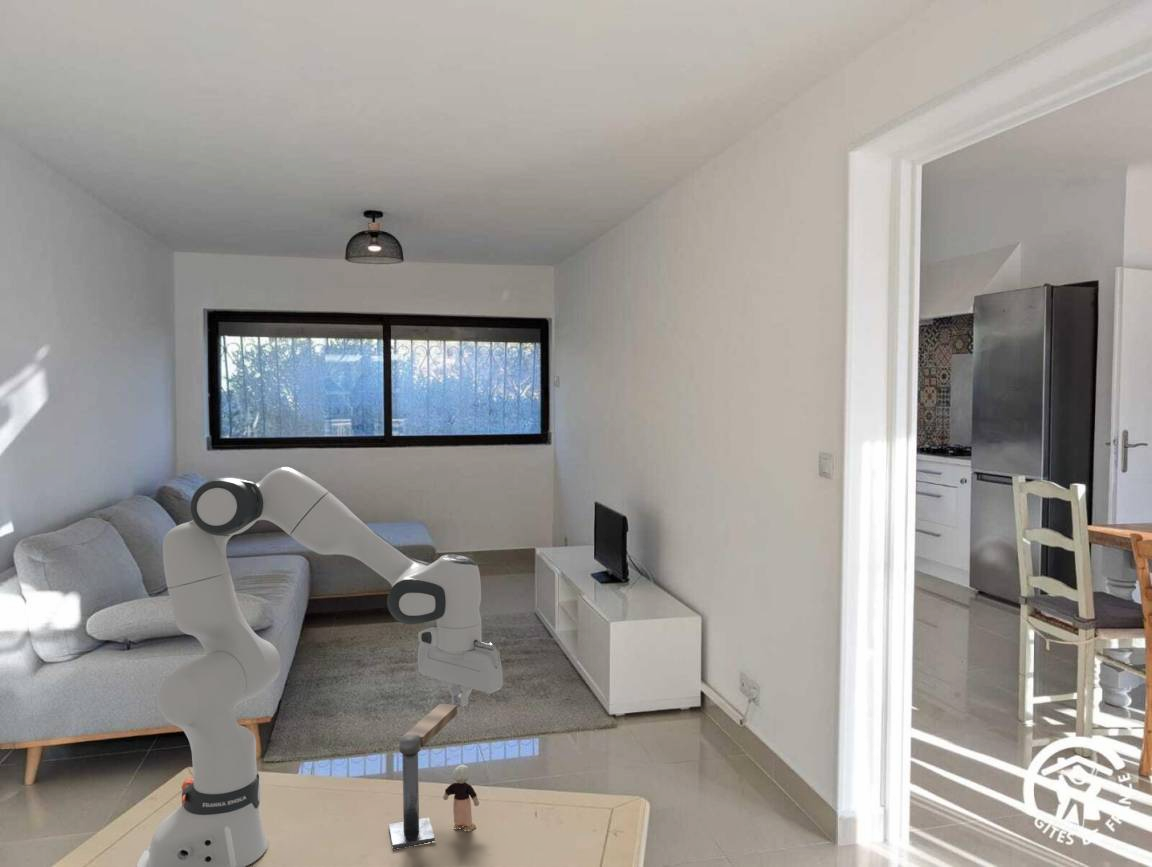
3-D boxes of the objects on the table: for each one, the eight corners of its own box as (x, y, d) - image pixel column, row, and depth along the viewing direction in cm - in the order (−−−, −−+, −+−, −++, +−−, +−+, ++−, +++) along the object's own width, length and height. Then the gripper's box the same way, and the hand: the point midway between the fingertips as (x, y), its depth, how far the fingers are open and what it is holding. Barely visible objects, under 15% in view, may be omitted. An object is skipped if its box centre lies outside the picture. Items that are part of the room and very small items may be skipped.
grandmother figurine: (482, 823, 167) (481, 762, 166) (478, 833, 163) (477, 770, 162) (445, 821, 168) (444, 760, 167) (440, 831, 164) (439, 769, 163)
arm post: (392, 849, 157) (391, 763, 156) (388, 828, 165) (387, 746, 164) (434, 842, 160) (433, 757, 159) (428, 822, 167) (427, 740, 166)
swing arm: (414, 755, 159) (414, 743, 159) (396, 753, 160) (395, 741, 160) (457, 715, 179) (457, 704, 179) (440, 713, 180) (440, 702, 180)
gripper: (509, 641, 160) (510, 711, 161) (434, 624, 172) (435, 689, 172) (488, 650, 155) (488, 721, 155) (412, 631, 167) (413, 698, 167)
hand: (460, 704), depth 164 cm, fingers closed
